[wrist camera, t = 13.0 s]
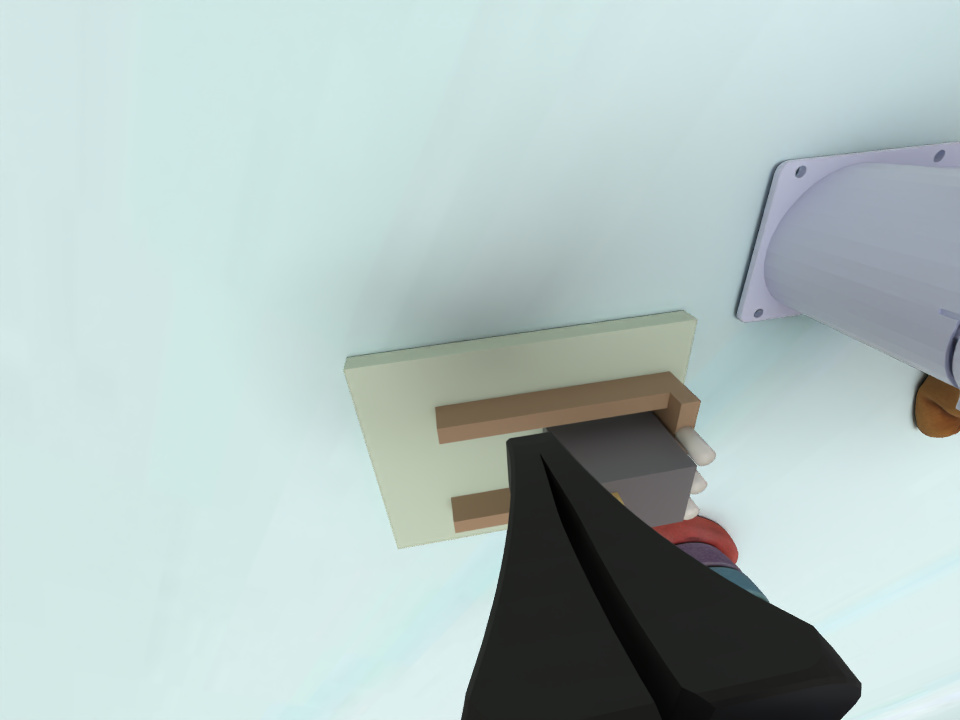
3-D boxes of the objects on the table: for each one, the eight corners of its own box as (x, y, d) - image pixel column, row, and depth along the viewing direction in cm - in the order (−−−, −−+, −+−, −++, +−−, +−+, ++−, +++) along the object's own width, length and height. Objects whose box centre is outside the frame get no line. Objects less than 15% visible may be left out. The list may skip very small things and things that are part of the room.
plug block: (644, 402, 23) (707, 478, 18) (637, 453, 25) (692, 534, 20) (542, 420, 23) (578, 502, 18) (543, 470, 25) (576, 557, 20)
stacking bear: (626, 603, 37) (777, 943, 21) (575, 555, 32) (724, 952, 16) (736, 547, 34) (991, 881, 19) (700, 487, 30) (1003, 870, 14)
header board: (684, 310, 22) (764, 364, 17) (649, 489, 29) (698, 564, 24) (347, 357, 20) (324, 432, 15) (398, 533, 27) (395, 623, 22)
